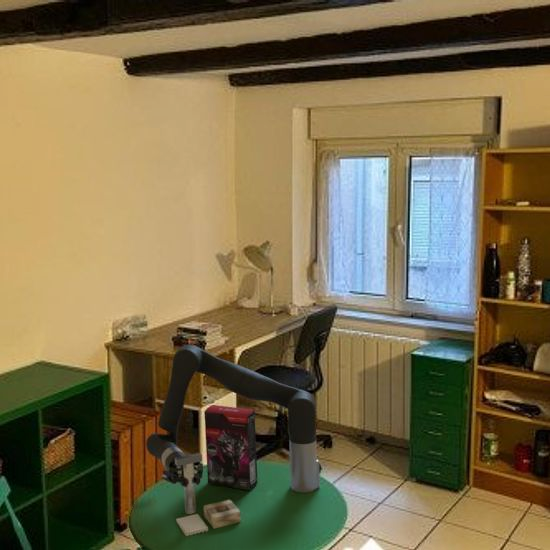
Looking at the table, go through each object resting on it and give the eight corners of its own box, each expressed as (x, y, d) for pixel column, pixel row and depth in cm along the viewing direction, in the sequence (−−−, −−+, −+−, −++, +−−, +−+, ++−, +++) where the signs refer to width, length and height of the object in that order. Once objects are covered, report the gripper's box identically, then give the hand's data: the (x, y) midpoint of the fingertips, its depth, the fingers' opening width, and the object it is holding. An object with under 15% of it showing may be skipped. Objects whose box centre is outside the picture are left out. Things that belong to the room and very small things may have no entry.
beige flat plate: (197, 516, 228) (197, 513, 228) (208, 530, 219) (207, 527, 219) (176, 521, 225) (176, 518, 225) (186, 536, 216) (186, 533, 216)
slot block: (230, 509, 232) (230, 499, 232) (240, 521, 224) (240, 511, 224) (204, 516, 229) (203, 505, 228) (213, 528, 220) (213, 518, 220)
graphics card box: (206, 484, 251) (202, 410, 247) (215, 476, 257) (211, 403, 253) (250, 491, 245) (247, 415, 240) (258, 483, 251) (256, 408, 247)
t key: (201, 506, 225) (199, 451, 222) (204, 510, 222) (202, 455, 219) (176, 511, 221) (174, 456, 218) (179, 516, 218) (177, 460, 216)
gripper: (154, 455, 229) (169, 476, 214) (196, 447, 235) (213, 466, 220) (155, 477, 230) (170, 499, 215) (196, 468, 236) (214, 489, 221)
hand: (192, 482), depth 217 cm, fingers closed on t key, 3 cm apart
